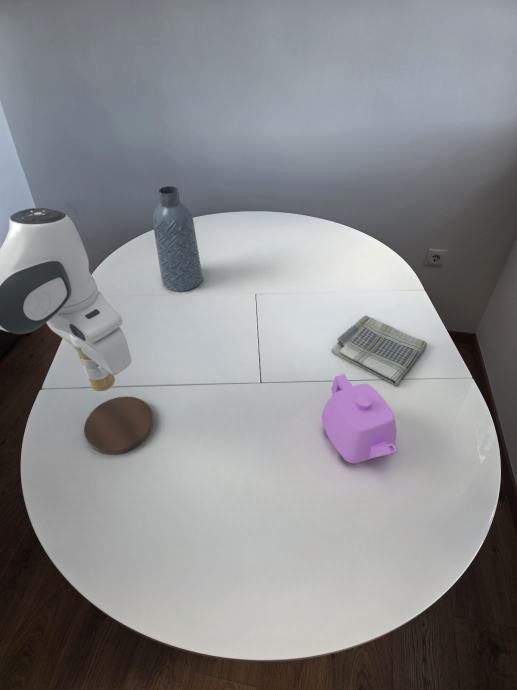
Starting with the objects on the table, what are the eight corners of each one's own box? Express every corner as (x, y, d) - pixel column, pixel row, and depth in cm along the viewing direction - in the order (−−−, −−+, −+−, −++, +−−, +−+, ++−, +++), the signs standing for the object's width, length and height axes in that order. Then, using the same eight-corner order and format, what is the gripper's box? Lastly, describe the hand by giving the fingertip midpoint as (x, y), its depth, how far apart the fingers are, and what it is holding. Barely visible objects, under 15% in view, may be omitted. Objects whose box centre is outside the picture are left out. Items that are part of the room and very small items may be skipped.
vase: (192, 295, 125) (179, 202, 106) (155, 288, 128) (135, 196, 109) (208, 273, 134) (199, 183, 115) (173, 266, 137) (158, 178, 117)
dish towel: (428, 346, 108) (431, 337, 106) (395, 388, 98) (398, 379, 96) (362, 317, 117) (364, 308, 115) (327, 353, 107) (328, 344, 105)
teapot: (306, 413, 93) (310, 373, 85) (356, 396, 97) (365, 356, 88) (354, 493, 80) (365, 455, 71) (410, 470, 83) (427, 431, 74)
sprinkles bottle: (96, 374, 84) (75, 321, 75) (118, 375, 84) (100, 322, 75) (87, 391, 81) (64, 339, 72) (111, 393, 81) (91, 340, 71)
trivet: (113, 467, 84) (111, 463, 83) (72, 430, 91) (70, 426, 90) (166, 421, 92) (165, 417, 91) (125, 391, 99) (124, 386, 98)
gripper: (21, 291, 72) (49, 350, 82) (93, 341, 63) (116, 402, 72) (54, 274, 76) (78, 333, 85) (128, 320, 66) (145, 380, 76)
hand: (96, 365), depth 79 cm, fingers closed on sprinkles bottle, 4 cm apart
